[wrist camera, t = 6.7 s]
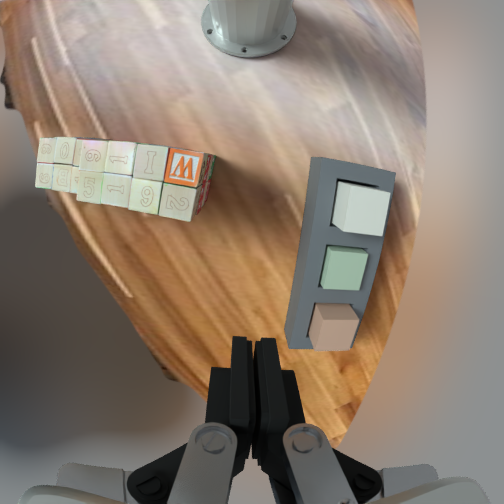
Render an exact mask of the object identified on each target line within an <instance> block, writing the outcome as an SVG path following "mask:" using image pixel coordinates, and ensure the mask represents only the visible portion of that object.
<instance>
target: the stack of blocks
mask: <svg viewBox="0 0 504 504" xmlns="http://www.w3.org/2000/svg"><path fill="white" fill-rule="evenodd" d="M215 158H216V155H213V154H208V153H202V152H197V151H193V150H188V149H182V148H176V147H169V146H163V145H156V144H148V143H137V142H128V141H111V140H110V139H100V138H80V137H54V138H40V143H39V150H38V158H37V162H38V163H37V172H36V185H35V187H38V188H45V189H52V190H57V191H64V192H71V193H76V194H77V201H84V202H90V203H96V204H106V205H112V206H118V207H124V208H128V209H129V210H134V211H139V212H145V213H150V214H155V215H158V214H159V215H160V216H163V217H168V218H173V219H177V220H182V221H187V222H190V221H191V220H192V219H193V218H194V216H195V215H197V214H198V213H199V211H200V210H201V208H202V206H203V205H204V204H205V202H206V201H207V196H208V192H209V187H210V182H211V176H212V171H213V167H214V162H215Z"/></svg>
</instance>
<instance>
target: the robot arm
mask: <svg viewBox="0 0 504 504" xmlns="http://www.w3.org/2000/svg"><path fill="white" fill-rule="evenodd" d="M208 3H209V4H208V5H207V6H206V8H205V9H204V11H203V14H202V18H201V25H202V30H203V33H204V35H205V37H206V38H207V40H208V41H209V42H210V43H211V44H212V45H213V46H214V47H215V48H217V49H219V50H220V51H222V52H225V53H227V54H230V55H234V56H238V57H259V56H265V55H268V54H271V53H274V52H276V51H278V50H280V49H281V48H282V47H284V46H285V45H286V44H287V43H288V42H289V41H290V40H291V38H292V36H293V34H294V32H295V29H296V22H297V20H296V15H295V13H294V10H293V8H292V7H291V6H292V3H293V0H208ZM210 33H212V34H210ZM282 39H284V40H282ZM243 51H246V53H244V52H243ZM251 445H252V458H253V459H257V461H258V466H259V465H260V466H261V470H262V471H263V472H265V473H266V474H268V475H269V480H270V484H271V488H272V491H273V495H274V498H275V502H276V504H491V503H490V500H489V499H488V497H487V495H486V493H485V492H484V490H483V489H482V487H481V486H480V485H479V484H478V483H477V482H476V481H475V480H473V479H471V478H468V477H449V478H443V479H439V480H438V475H437V472H436V470H435V469H434V467H433V466H430V465H428V464H421V465H413V466H405V467H394V468H383V469H382V470H377V471H376V470H374V469H372V468H371V467H368V466H366V465H364V464H362V463H360V462H358V461H356V460H354V459H352V458H350V457H348V456H347V455H345V454H343V453H340V452H339V451H337V450H335V449H334V448H332V447H331V445H330V443H329V441H328V439H327V437H326V435H325V433H324V432H323V431H322V430H321V429H320V428H319V427H317V426H314V425H312V424H307V423H306V422H305V417H304V413H303V408H302V404H301V399H300V395H299V390H298V386H297V381H296V377H295V373H294V371H293V370H281V366H280V361H279V355H278V349H277V344H276V339H275V338H261V341H256V342H255V350H254V357H253V353H252V341H248V340H247V337H241V336H233V339H232V354H231V368H220V367H211V374H210V382H209V391H208V400H207V410H206V418H205V423H204V424H202V425H199V426H198V427H196V428H195V429H194V430H193V432H192V433H191V435H190V438H189V441H188V443H186V444H184V445H183V446H181V447H179V448H177V449H175V450H174V451H172V452H170V453H168V454H166V455H164V456H163V457H161V458H159V459H157V460H155V461H153V462H151V463H149V464H147V465H145V466H143V467H141V468H139V469H137V470H135V471H124V470H123V469H117V468H106V467H97V466H89V465H83V464H77V463H67V464H64V465H62V466H61V467H60V469H59V471H58V474H57V486H54V485H38V486H33V487H30V488H29V489H28V490H26V491H25V492H24V494H23V495H22V496H21V498H20V499H19V501H18V503H17V504H228V500H229V495H230V490H231V485H232V480H233V477H235V476H236V475H237V474H239V473H240V472H241V471H243V469H244V464H245V459H248V456H249V452H250V447H251Z"/></svg>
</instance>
